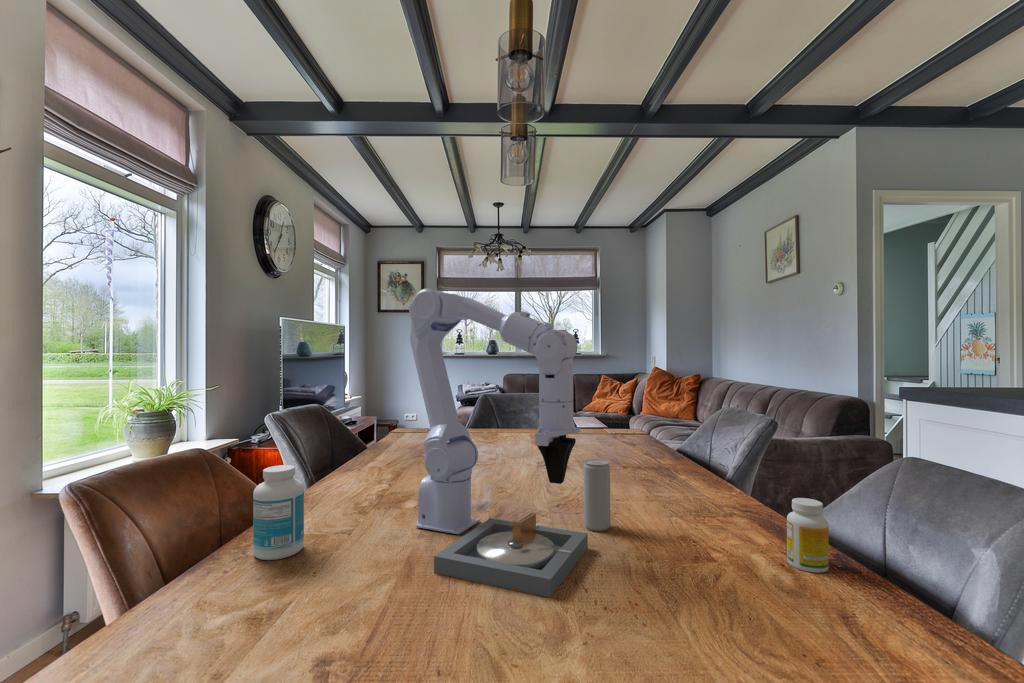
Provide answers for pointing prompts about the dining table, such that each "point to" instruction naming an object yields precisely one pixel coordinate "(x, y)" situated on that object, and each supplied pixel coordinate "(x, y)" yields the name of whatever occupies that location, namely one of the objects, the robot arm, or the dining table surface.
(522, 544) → the dial
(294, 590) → the dining table surface
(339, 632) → the dining table surface
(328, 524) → the dining table surface
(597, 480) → the beverage can
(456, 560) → the slate tray
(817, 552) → the supplement bottle
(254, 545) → the pill bottle
